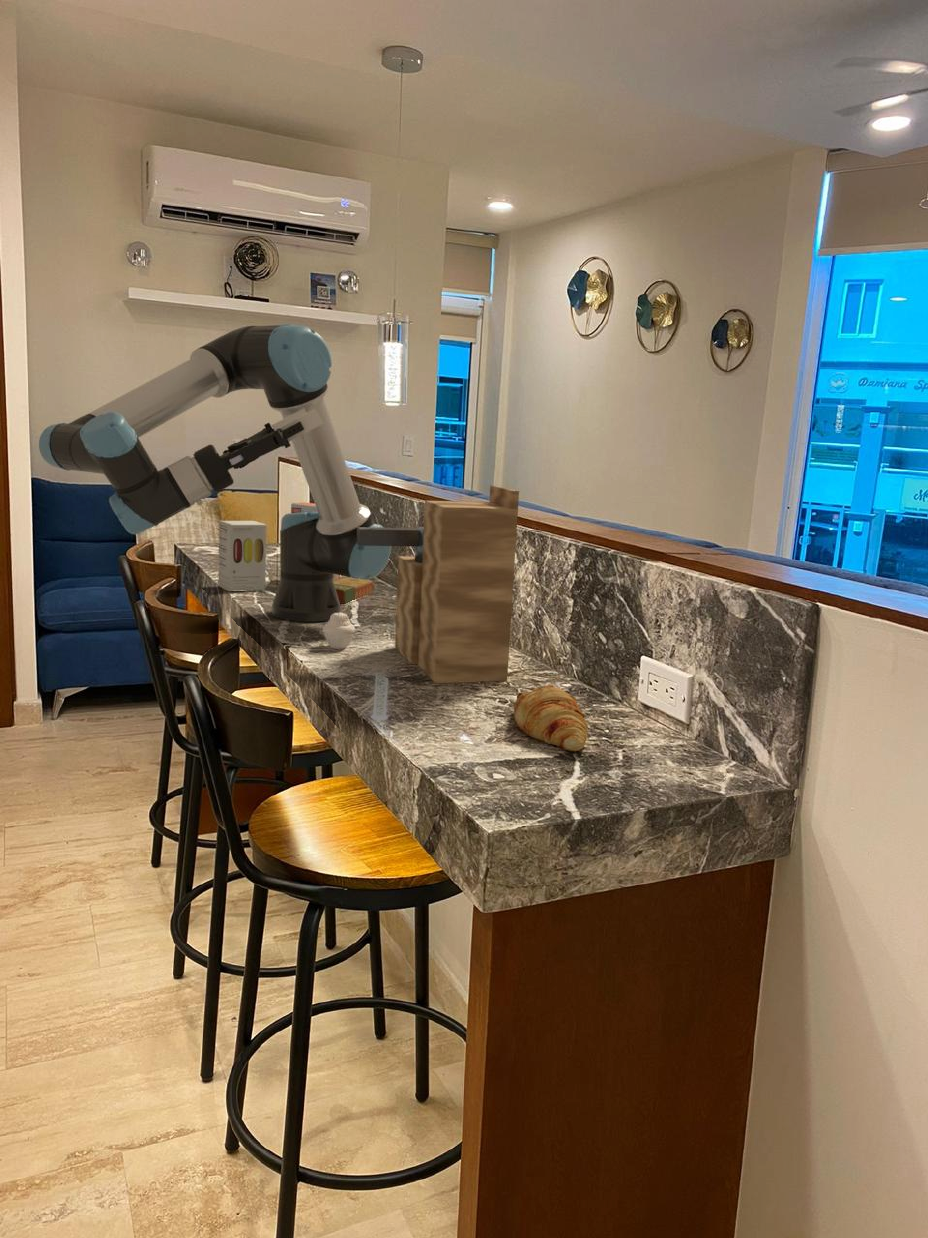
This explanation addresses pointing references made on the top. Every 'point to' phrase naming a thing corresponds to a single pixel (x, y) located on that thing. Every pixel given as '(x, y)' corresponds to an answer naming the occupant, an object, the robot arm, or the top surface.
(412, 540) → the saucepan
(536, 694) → the croissant
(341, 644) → the white ridged rounded piece
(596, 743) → the top surface
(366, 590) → the carton
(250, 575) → the supplement box
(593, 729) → the top surface
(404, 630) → the pine stand
